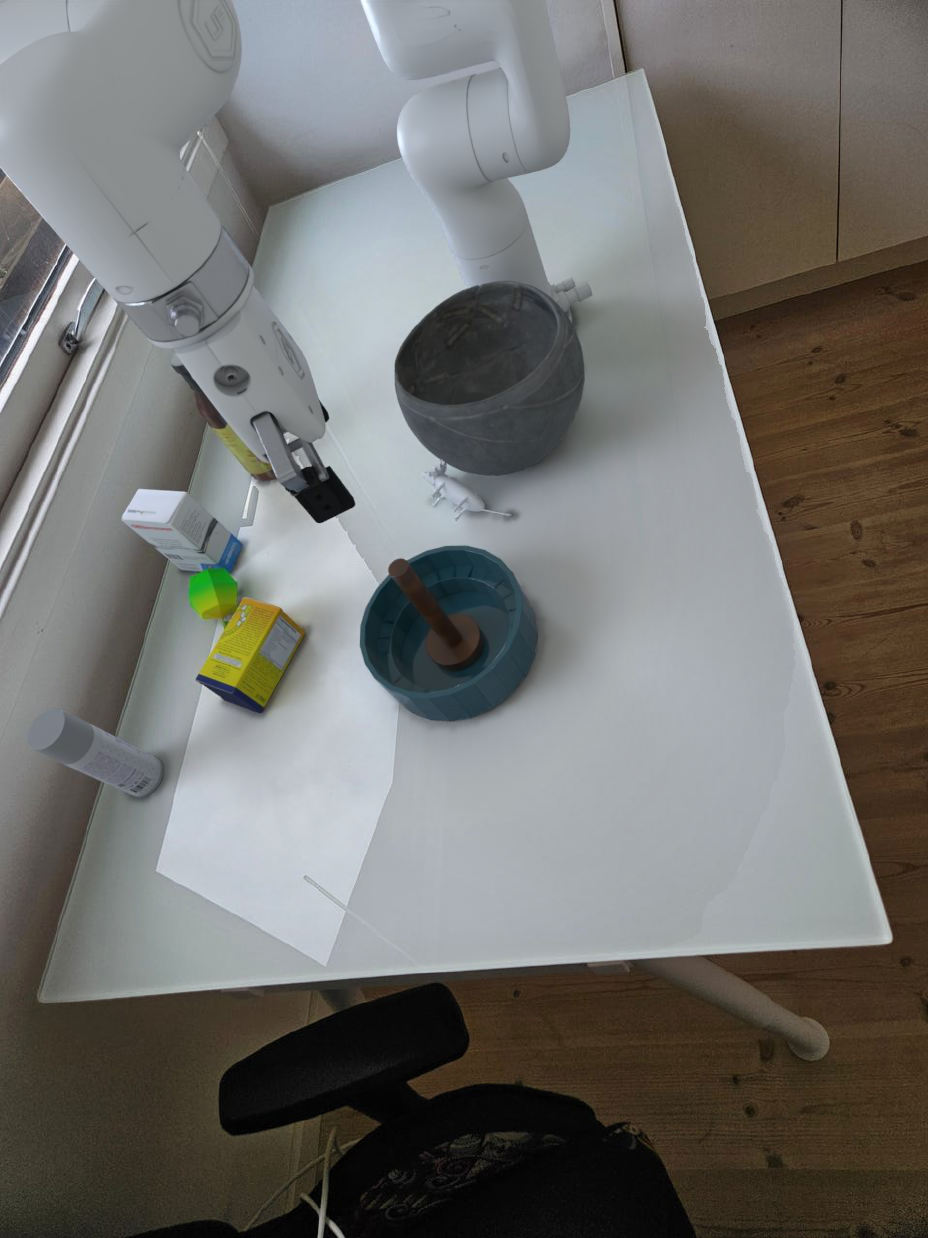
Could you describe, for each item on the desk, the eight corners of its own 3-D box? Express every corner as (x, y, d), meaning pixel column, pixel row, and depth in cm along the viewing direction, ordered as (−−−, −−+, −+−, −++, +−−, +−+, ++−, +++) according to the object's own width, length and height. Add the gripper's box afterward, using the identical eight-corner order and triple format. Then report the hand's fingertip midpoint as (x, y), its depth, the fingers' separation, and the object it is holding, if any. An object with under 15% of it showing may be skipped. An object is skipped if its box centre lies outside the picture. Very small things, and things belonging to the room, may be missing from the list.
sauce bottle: (285, 481, 108) (194, 374, 92) (246, 485, 110) (151, 380, 94) (298, 443, 111) (213, 332, 95) (260, 447, 113) (170, 339, 97)
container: (167, 755, 92) (71, 703, 80) (159, 795, 90) (58, 748, 78) (133, 759, 94) (33, 709, 82) (124, 799, 91) (20, 754, 79)
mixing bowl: (508, 553, 90) (490, 519, 84) (563, 680, 80) (546, 650, 75) (370, 618, 92) (344, 589, 87) (408, 750, 82) (381, 726, 77)
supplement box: (223, 701, 93) (270, 620, 97) (261, 715, 90) (308, 631, 94) (192, 679, 88) (242, 595, 92) (231, 693, 86) (282, 606, 89)
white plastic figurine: (407, 473, 92) (434, 446, 94) (413, 501, 97) (439, 475, 99) (490, 525, 88) (516, 496, 90) (492, 551, 93) (517, 523, 95)
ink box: (245, 544, 105) (189, 488, 95) (229, 577, 103) (170, 523, 93) (195, 539, 109) (136, 486, 99) (179, 571, 107) (117, 519, 97)
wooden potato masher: (475, 611, 87) (419, 529, 74) (492, 656, 83) (436, 578, 71) (424, 635, 87) (361, 557, 75) (439, 680, 84) (375, 607, 71)
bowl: (544, 349, 104) (515, 246, 91) (635, 442, 91) (615, 338, 79) (404, 434, 104) (356, 342, 91) (476, 539, 91) (432, 450, 79)
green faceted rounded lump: (191, 587, 102) (211, 652, 100) (169, 571, 96) (190, 639, 93) (243, 566, 102) (265, 630, 100) (225, 549, 96) (248, 616, 94)
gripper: (261, 338, 42) (395, 526, 56) (223, 182, 52) (345, 375, 66) (138, 404, 43) (300, 573, 57) (123, 239, 53) (264, 417, 67)
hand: (324, 467), depth 61 cm, fingers open, 9 cm apart
